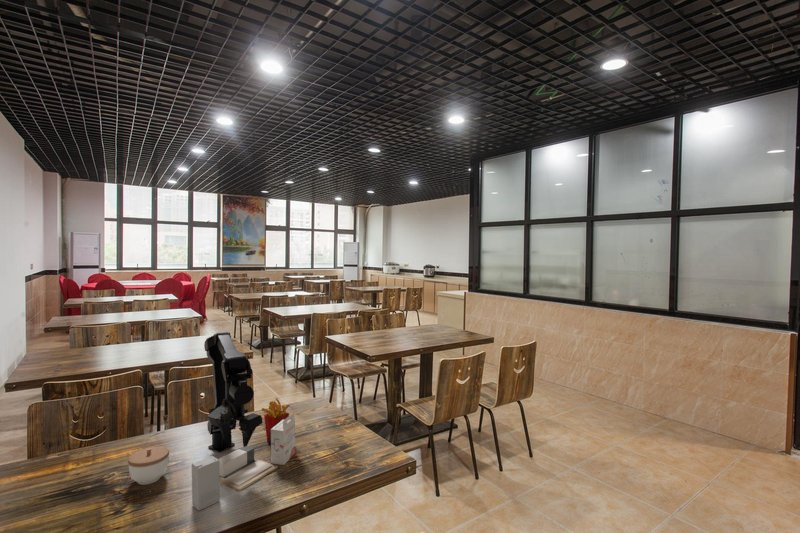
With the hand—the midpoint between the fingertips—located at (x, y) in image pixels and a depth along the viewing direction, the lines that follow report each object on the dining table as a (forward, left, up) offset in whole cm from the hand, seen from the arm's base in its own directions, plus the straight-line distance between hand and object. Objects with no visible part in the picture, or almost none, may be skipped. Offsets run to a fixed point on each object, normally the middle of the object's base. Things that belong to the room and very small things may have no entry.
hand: (235, 442), depth 132 cm
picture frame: (+1, 0, -9) cm, 9 cm away
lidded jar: (-18, -17, -9) cm, 26 cm away
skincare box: (+8, -16, -9) cm, 20 cm away
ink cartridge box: (+8, +13, -9) cm, 18 cm away
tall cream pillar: (0, 0, -8) cm, 8 cm away
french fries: (-5, +21, -9) cm, 23 cm away
